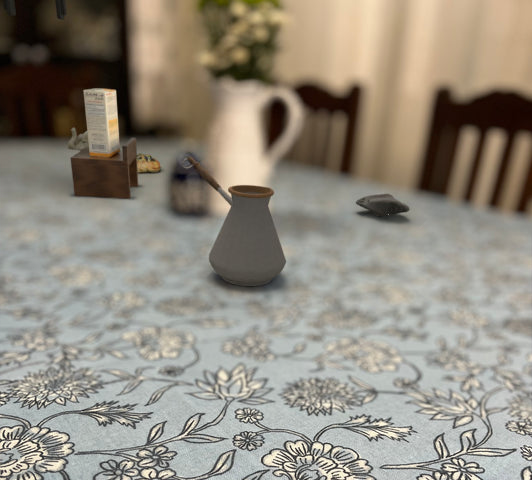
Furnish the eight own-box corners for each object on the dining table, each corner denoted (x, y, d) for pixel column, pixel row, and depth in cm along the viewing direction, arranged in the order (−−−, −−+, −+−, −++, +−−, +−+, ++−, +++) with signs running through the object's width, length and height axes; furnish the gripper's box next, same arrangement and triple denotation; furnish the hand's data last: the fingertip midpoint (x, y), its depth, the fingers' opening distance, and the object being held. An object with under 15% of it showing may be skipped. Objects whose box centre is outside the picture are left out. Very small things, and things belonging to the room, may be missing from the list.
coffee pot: (300, 281, 78) (311, 178, 71) (241, 297, 71) (247, 185, 64) (214, 243, 91) (216, 153, 84) (157, 254, 84) (154, 157, 77)
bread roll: (147, 164, 152) (147, 146, 149) (168, 176, 146) (169, 158, 143) (113, 167, 146) (112, 149, 143) (133, 181, 140) (133, 162, 137)
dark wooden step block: (74, 195, 114) (68, 142, 109) (88, 182, 126) (83, 134, 121) (129, 198, 115) (126, 146, 110) (138, 185, 127) (136, 137, 122)
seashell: (390, 225, 111) (419, 214, 116) (389, 198, 108) (419, 188, 113) (350, 220, 120) (379, 210, 125) (349, 195, 117) (378, 186, 122)
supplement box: (100, 150, 120) (94, 87, 114) (120, 152, 120) (116, 89, 114) (88, 156, 113) (82, 89, 107) (110, 157, 113) (105, 91, 107)
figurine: (70, 190, 132) (47, 129, 124) (116, 172, 140) (98, 113, 131) (90, 195, 127) (68, 131, 118) (137, 176, 135) (119, 114, 126)
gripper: (-35, -103, 93) (-16, 11, 101) (65, -92, 94) (76, 19, 103) (-18, -92, 99) (-2, 14, 107) (75, -82, 101) (84, 22, 109)
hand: (36, 17), depth 105 cm, fingers open, 9 cm apart
